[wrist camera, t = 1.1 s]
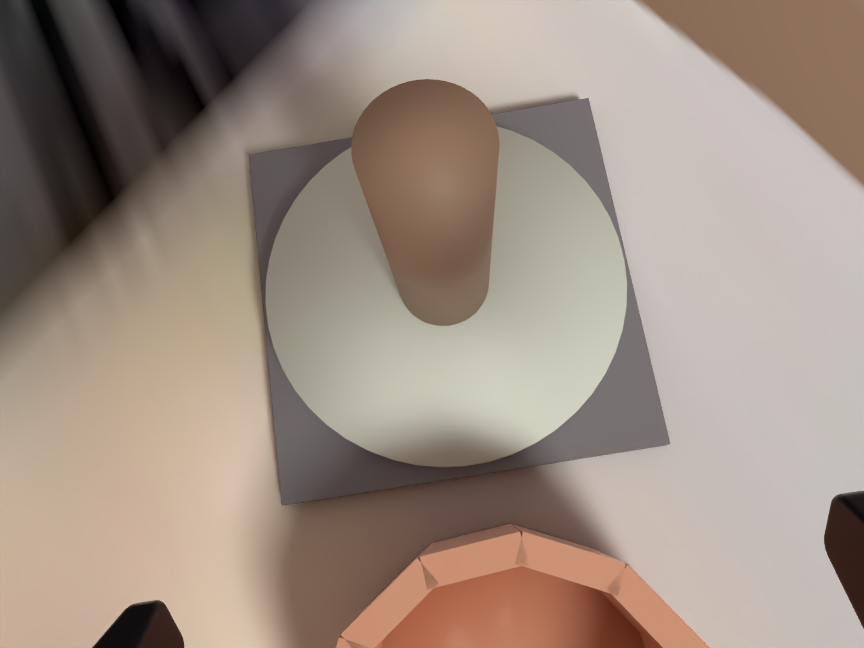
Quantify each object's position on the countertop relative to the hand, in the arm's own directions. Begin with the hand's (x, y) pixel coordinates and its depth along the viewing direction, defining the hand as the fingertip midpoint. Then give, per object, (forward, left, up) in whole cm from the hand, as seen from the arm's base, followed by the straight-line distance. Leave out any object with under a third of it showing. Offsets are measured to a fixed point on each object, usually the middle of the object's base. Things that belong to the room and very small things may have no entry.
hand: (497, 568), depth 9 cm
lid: (+5, +6, -13) cm, 15 cm away
